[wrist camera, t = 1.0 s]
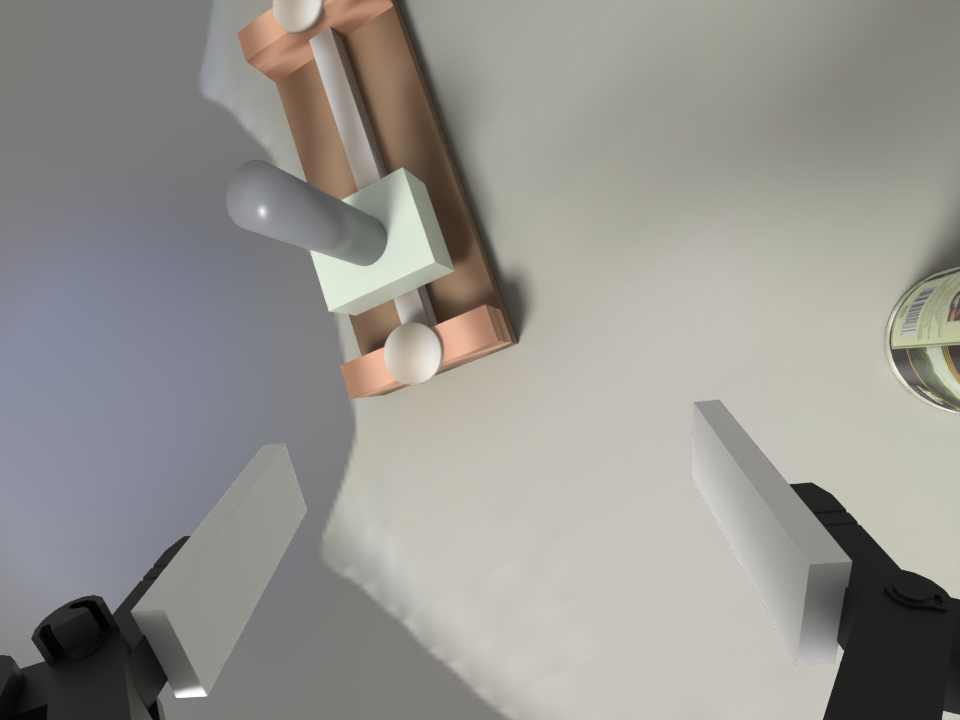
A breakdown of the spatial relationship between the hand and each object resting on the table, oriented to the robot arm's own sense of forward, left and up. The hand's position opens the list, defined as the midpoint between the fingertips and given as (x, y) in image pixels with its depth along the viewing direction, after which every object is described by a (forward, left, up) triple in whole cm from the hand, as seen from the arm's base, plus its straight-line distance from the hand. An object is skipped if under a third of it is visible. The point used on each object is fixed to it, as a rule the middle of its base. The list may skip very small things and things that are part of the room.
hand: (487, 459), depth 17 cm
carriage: (+11, -18, -24) cm, 32 cm away
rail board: (+11, -25, -28) cm, 39 cm away
